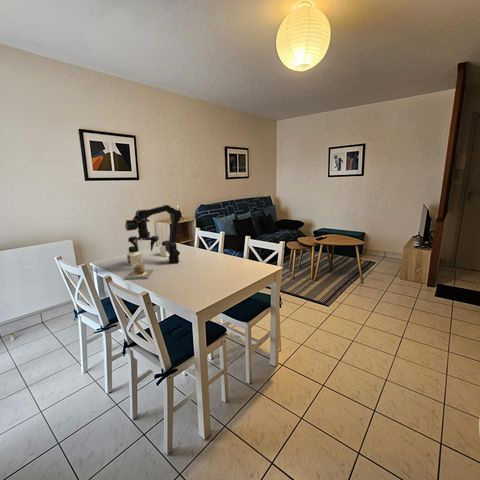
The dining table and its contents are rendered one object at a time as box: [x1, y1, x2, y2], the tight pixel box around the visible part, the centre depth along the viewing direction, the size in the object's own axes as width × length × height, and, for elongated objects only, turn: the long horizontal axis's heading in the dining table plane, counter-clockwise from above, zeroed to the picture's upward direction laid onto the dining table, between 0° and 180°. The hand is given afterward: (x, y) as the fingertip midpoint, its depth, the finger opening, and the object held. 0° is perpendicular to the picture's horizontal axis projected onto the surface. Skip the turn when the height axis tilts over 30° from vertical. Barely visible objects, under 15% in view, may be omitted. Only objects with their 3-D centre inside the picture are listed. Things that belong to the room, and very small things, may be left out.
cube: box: [133, 264, 146, 275], centre depth 169 cm, size 5×5×5 cm
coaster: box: [124, 269, 154, 281], centre depth 169 cm, size 14×14×1 cm
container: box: [125, 245, 143, 267], centre depth 191 cm, size 8×8×13 cm
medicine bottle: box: [159, 240, 170, 258], centre depth 212 cm, size 7×7×12 cm
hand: (144, 251), depth 178 cm, fingers open, 9 cm apart
